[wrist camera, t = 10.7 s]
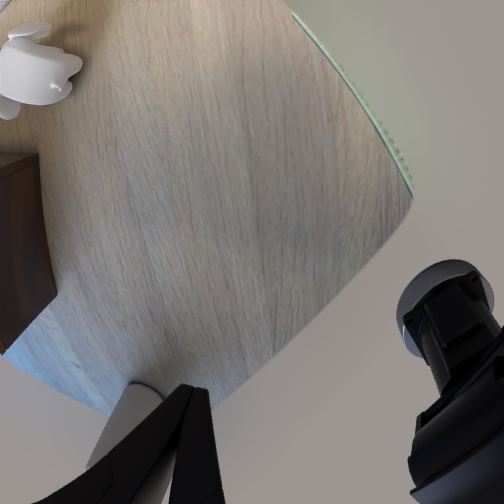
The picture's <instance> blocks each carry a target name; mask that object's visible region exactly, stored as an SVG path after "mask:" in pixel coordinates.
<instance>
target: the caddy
mask: <svg viewBox="0 0 504 504" xmlns="http://www.w3.org/2000/svg"><path fill="white" fill-rule="evenodd" d="M56 296H57V292H56V287H55V283H54V278H53V273H52V268H51V263H50V258H49V252H48V246H47V240H46V233H45V226H44V218H43V210H42V200H41V189H40V175H39V154H38V153H0V337H1V339H2V342H3V344H4V346H5V348H6V349H7V350H8V348H9V347H10V346H11V345H12V344H13V343H14V341H15V340H16V339H17V338H18V337H19V336H20V335H21V334H22V332H23V331H24V330H25V329H26V328H27V327H28V326H29V325H30V324H31V323H32V321H33V320H34V319H35V318H36V317H37V316H38V315H39V314H40V313H41V312H42V311H43V310H44V309H45V308H46V307H47V306H48V304H49V303H50V302H51V301H52V300H53V299H54V298H55V297H56Z"/></svg>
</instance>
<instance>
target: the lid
mask: <svg viewBox="0 0 504 504" xmlns="http://www.w3.org/2000/svg"><path fill="white" fill-rule="evenodd" d="M5 352H6V348H5V346H4V344H3V342H2V339H1V337H0V355H1V356H2V355H3V354H4V353H5Z"/></svg>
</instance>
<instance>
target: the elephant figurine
mask: <svg viewBox="0 0 504 504" xmlns="http://www.w3.org/2000/svg"><path fill="white" fill-rule="evenodd" d="M51 29H52V26H51V25H50V24H48V23H46V22H30V23H24V24H21V25H19V26H17V27H15V28H13V29H12V30H11V31H10V32H9V33H8V37H9V39H8V40H7V41H6V42H5V43H4V44H3V46H2V48H1V50H0V118H1V119H4V120H11V119H14V118H16V117H17V116H18V114H19V112H20V108H21V102H22V103H26V104H32V105H49V104H53V103H55V102H58V101H60V100H62V99H64V98H66V97H67V96H68V95H69V94H70V93H71V91H72V83H71V82H70V81H67V80H68V78H69V77H70V76H72V75H74V74H75V73H77V72H79V71H80V70H81V68H82V65H83V61H82V59H81V58H79V57H78V56H75V55H72V54H65V51H64V50H63V49H61V48H57V47H50V46H43V45H38V44H35V43H34V41H35V40H38V39H41V38H43V37H45V36H47V35H49V34H50V32H51Z"/></svg>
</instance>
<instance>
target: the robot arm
mask: <svg viewBox="0 0 504 504" xmlns="http://www.w3.org/2000/svg"><path fill="white" fill-rule="evenodd" d="M474 276H475V277H474ZM473 277H474V278H473ZM472 278H473V279H472ZM410 318H411V319H410ZM408 319H410V320H408ZM407 320H408V321H407ZM402 321H403V324H404V326H405V327H406V329H407V331H408V332H409V334H410V336H411V337H412V339H413V341H414V343H415V344H416V346H417V348H418V349H419V351H420V353H421V355H422V356H423V358H424V360H425V362H426V363H427V365H428V366H430V368H431V371H432V373H433V376H434V379H435V382H436V385H437V388H438V390H439V394H440V398H439V399H438V400H437V401H436V402H435V403H434V404H432V405H431V406H430V407H429V408H428V409H427V410H426V411H425V412H422V413H421V414H419V415H418V416H417V420H416V430H415V437H414V439H413V443H412V451H411V455H410V456H409V457H408V467H409V472H410V474H411V477H412V480H413V482H414V484H415V485H416V488H414V489H412V490H411V491H410V495H411V496H412V497H413V498H414V499H415V500H416V501H417V502H419V503H420V504H504V326H503V327H502V328H501V327H500V326H499V324H498V323H497V321H496V320H495V318H494V317H493V315H492V314H491V311H490V307H489V304H488V300H487V297H486V293H485V290H484V287H483V284H482V280H481V277H480V275H479V273H478V272H477V271H476V270H472V271H470V272H469V273H467V274H466V275H464V276H463V277H462V278H460V279H459V280H457V281H456V282H454V283H453V284H451V285H450V286H448V287H447V288H445V289H444V290H442V291H441V292H439V293H438V294H436V295H435V296H433V297H432V298H430V299H428V300H427V301H425V302H424V303H422V304H420V305H419V306H417V307H416V308H414V309H412V310H411V311H409V312H407V313H406V314H405V315H404V316H403V317H402ZM172 476H173V477H172ZM171 478H172V484H171V490H170V497H169V504H225V498H224V492H223V489H222V481H221V476H220V469H219V463H218V456H217V450H216V443H215V437H214V429H213V422H212V415H211V407H210V399H209V391H208V390H207V389H204V388H200V387H195V388H194V386H192V385H187V384H180V385H179V386H178V387H177V388H176V389H175V390H174V391H173V392H172V393H171V394H170V395H169V396H168V397H167V398H166V399H165V400H164V401H163V402H161V403H160V404H159V405H158V406H157V407H156V408H155V409H154V410H153V411H152V412H151V413H150V414H149V415H148V416H147V417H146V418H145V419H144V420H143V421H142V422H140V423H139V424H138V425H137V426H136V427H135V428H134V429H133V430H132V431H131V432H130V433H129V434H128V435H127V436H126V437H124V438H123V439H122V440H121V441H120V442H119V443H118V444H117V445H116V446H115V447H114V448H112V449H111V450H110V451H109V452H108V453H107V455H105V456H104V457H102V458H101V459H100V460H99V461H98V462H97V463H96V464H94V465H93V466H92V467H91V468H90V469H88V470H87V471H86V472H85V473H83V474H82V475H81V476H79V477H77V478H76V479H75V480H73V481H72V482H70V483H68V484H67V485H65V486H64V487H62V488H61V489H59V490H58V491H56V492H54V493H53V494H51V495H49V496H48V497H46V498H44V499H43V500H40V501H38V502H35V503H32V504H161V503H162V500H163V498H164V495H165V493H166V490H167V488H168V485H169V483H170V481H171Z"/></svg>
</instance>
